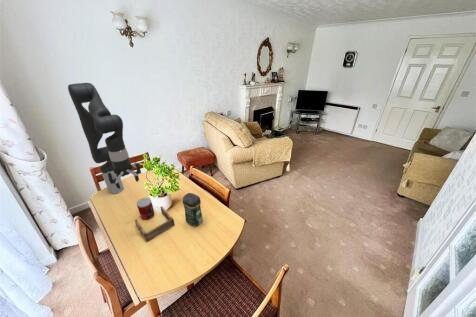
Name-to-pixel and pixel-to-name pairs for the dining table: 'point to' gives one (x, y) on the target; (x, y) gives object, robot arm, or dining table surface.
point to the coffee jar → (192, 209)
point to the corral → (158, 229)
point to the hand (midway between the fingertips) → (128, 184)
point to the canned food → (145, 208)
